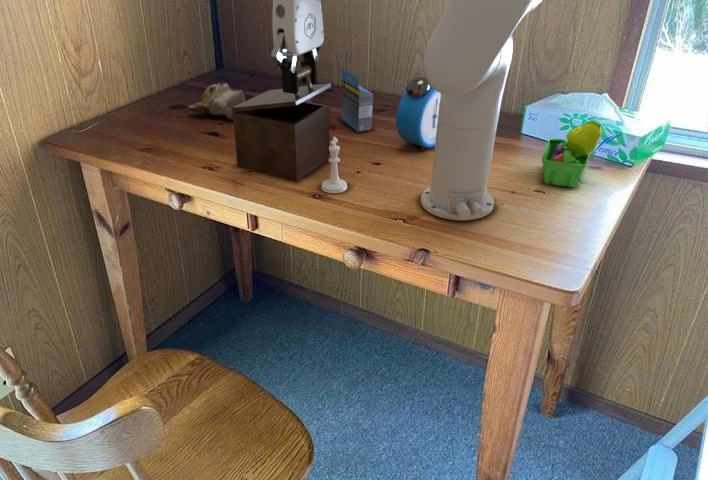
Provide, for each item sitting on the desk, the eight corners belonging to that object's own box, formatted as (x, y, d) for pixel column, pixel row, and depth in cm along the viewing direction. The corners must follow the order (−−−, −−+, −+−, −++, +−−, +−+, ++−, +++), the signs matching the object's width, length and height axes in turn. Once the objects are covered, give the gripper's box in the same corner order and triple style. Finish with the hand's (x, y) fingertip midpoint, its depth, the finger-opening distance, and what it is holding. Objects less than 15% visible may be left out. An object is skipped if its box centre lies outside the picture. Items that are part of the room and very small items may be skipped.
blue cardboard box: (372, 130, 139) (374, 75, 132) (357, 132, 138) (358, 77, 131) (355, 117, 146) (356, 65, 139) (340, 120, 145) (340, 67, 138)
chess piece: (352, 186, 116) (353, 136, 110) (336, 195, 113) (336, 144, 107) (332, 179, 119) (332, 130, 113) (315, 188, 116) (314, 138, 110)
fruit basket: (544, 161, 122) (555, 106, 116) (591, 168, 119) (606, 111, 112) (535, 185, 114) (548, 126, 107) (587, 193, 111) (602, 133, 104)
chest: (329, 159, 126) (329, 105, 120) (297, 181, 118) (294, 125, 112) (272, 146, 133) (269, 94, 127) (237, 166, 125) (232, 112, 119)
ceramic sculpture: (225, 89, 139) (179, 83, 147) (230, 126, 143) (185, 118, 151) (255, 77, 145) (210, 72, 154) (259, 113, 150) (215, 106, 158)
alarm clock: (416, 157, 126) (422, 84, 118) (392, 149, 130) (396, 77, 121) (453, 139, 133) (461, 69, 125) (430, 132, 137) (436, 63, 129)
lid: (331, 87, 118) (325, 59, 115) (296, 105, 109) (289, 76, 107) (269, 94, 127) (263, 68, 125) (232, 111, 119) (225, 84, 116)
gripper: (284, -9, 97) (291, 104, 107) (339, -26, 108) (340, 78, 118) (246, -11, 100) (256, 98, 111) (303, -27, 112) (308, 74, 122)
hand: (300, 86), depth 114 cm, fingers closed on lid, 5 cm apart
